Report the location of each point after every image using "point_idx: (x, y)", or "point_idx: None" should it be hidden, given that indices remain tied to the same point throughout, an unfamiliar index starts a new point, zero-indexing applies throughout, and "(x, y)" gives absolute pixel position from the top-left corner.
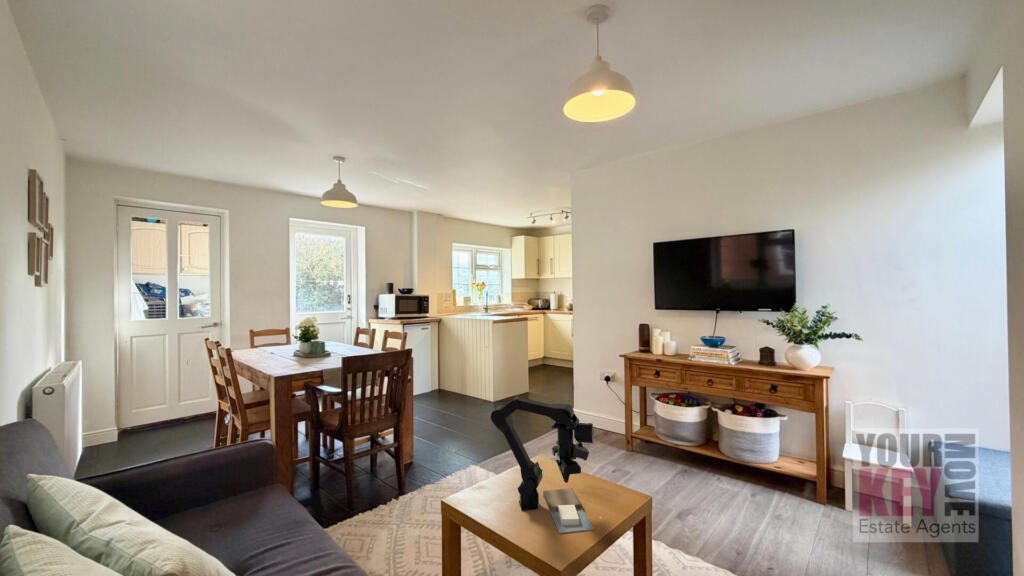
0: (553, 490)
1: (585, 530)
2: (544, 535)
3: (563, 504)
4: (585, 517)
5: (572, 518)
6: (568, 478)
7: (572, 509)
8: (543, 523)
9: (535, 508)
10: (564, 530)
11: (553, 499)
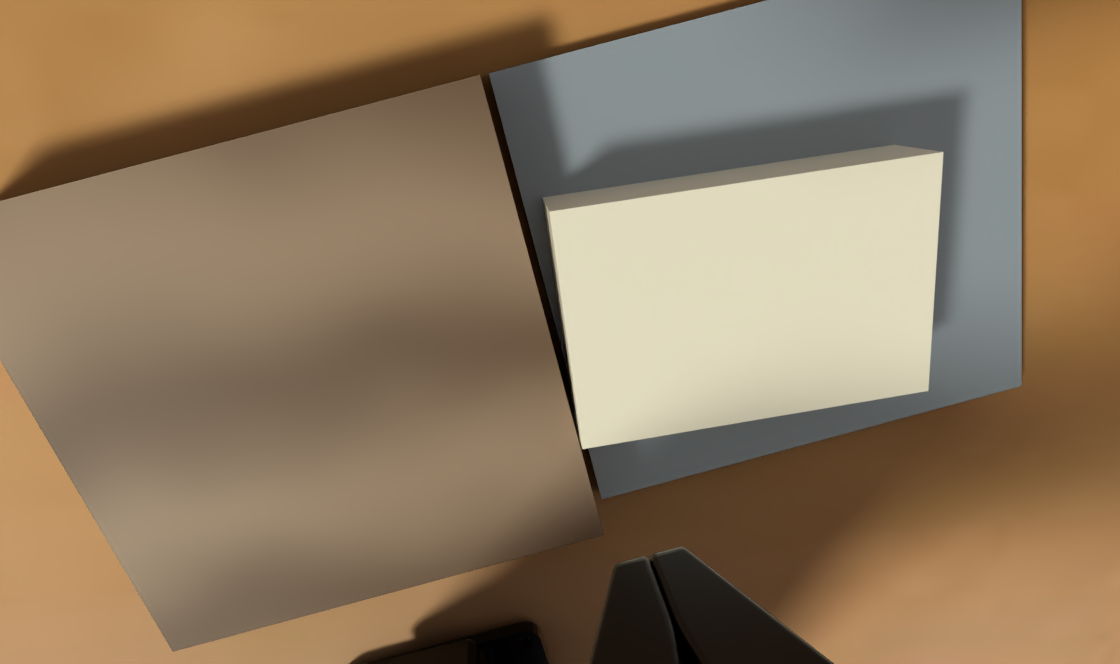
0: (117, 524)
1: (1012, 62)
2: (1010, 517)
3: (522, 371)
4: (735, 35)
5: (924, 250)
6: (784, 633)
7: (692, 245)
8: (807, 543)
9: (546, 654)
10: (991, 331)
11: (394, 508)
